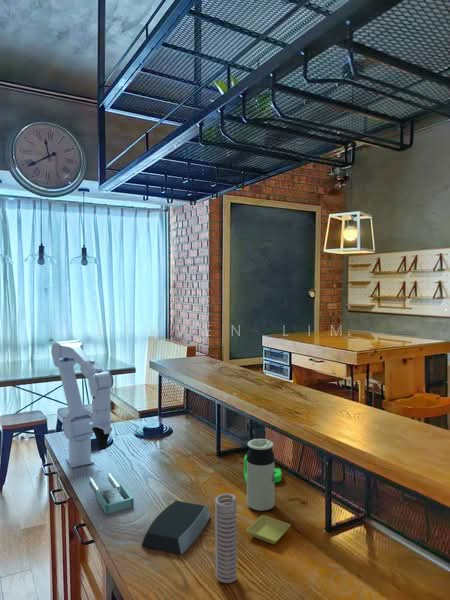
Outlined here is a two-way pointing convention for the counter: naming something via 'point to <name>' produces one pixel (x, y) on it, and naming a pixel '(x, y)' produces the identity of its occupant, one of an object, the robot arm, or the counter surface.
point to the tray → (118, 505)
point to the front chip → (114, 498)
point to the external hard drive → (177, 527)
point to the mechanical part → (276, 472)
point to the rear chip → (110, 493)
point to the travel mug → (260, 474)
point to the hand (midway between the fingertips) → (102, 448)
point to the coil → (226, 538)
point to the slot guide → (109, 479)
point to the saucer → (268, 529)
